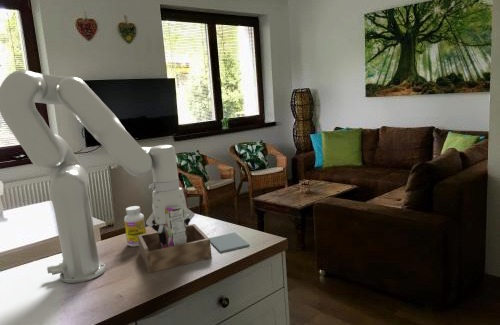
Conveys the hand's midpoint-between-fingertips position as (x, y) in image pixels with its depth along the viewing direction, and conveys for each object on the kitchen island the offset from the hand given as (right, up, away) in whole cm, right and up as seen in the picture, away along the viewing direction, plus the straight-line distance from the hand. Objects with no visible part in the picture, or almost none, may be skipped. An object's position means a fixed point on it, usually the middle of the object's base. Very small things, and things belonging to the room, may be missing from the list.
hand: (173, 240), depth 130 cm
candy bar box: (0, -5, +1) cm, 5 cm away
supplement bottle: (-15, -4, +14) cm, 21 cm away
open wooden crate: (0, -5, +1) cm, 5 cm away
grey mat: (+17, -2, +8) cm, 19 cm away
